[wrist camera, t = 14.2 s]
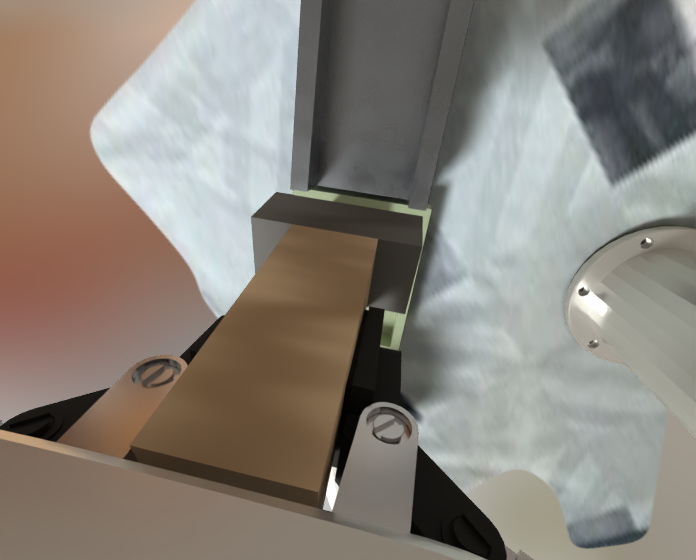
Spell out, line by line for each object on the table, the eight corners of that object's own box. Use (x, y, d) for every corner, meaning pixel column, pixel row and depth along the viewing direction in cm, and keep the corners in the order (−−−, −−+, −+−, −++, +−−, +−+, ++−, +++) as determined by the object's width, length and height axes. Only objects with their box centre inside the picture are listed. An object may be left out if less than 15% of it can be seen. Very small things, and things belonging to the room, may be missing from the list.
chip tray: (429, 202, 28) (431, 209, 26) (397, 340, 34) (397, 355, 32) (301, 182, 29) (293, 187, 27) (291, 320, 35) (284, 333, 33)
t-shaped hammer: (422, 216, 13) (421, 517, 5) (407, 278, 15) (387, 579, 7) (276, 192, 14) (41, 424, 5) (277, 254, 16) (103, 504, 7)
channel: (467, -19, 22) (489, -66, 17) (421, 195, 28) (426, 210, 23) (328, -34, 23) (305, -84, 18) (311, 178, 29) (290, 189, 23)
